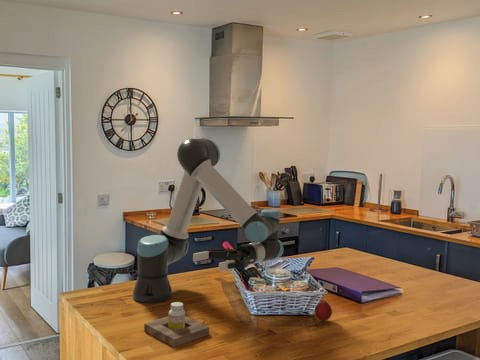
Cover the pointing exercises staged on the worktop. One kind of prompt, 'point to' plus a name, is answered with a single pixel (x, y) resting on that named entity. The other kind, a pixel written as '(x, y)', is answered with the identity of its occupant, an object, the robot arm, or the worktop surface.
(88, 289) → the worktop surface
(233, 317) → the worktop surface
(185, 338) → the socket block
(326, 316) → the onion
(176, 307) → the supplement bottle
